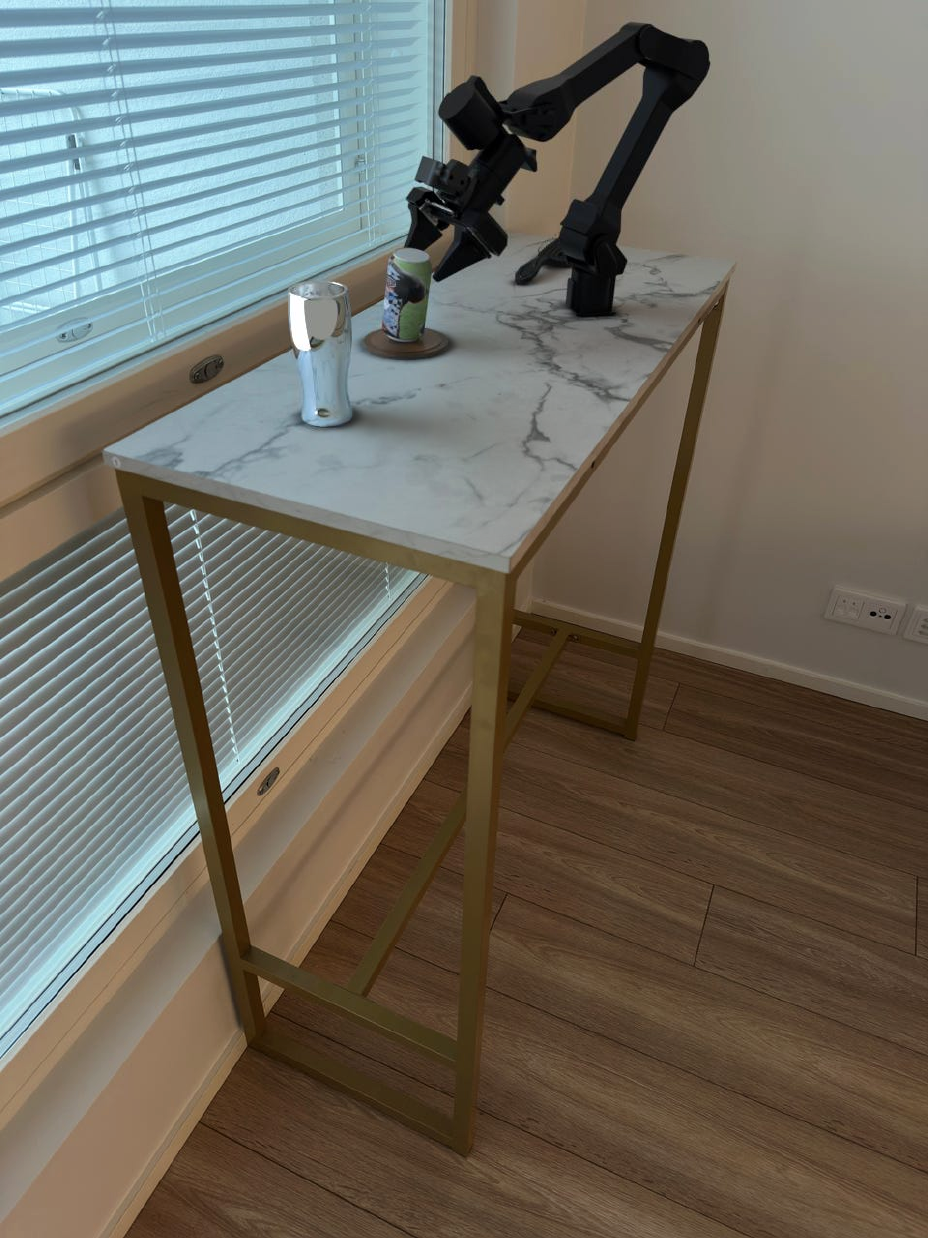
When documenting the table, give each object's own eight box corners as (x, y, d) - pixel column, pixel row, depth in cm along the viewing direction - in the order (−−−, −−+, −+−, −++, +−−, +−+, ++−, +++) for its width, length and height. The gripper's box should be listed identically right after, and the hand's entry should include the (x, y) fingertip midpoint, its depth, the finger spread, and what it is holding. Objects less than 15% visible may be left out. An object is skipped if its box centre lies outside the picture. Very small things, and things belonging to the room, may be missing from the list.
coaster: (439, 328, 135) (440, 323, 134) (455, 357, 125) (455, 352, 125) (359, 331, 133) (359, 327, 132) (368, 361, 123) (368, 356, 123)
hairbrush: (497, 263, 153) (556, 224, 170) (496, 285, 155) (555, 245, 172) (542, 271, 150) (598, 231, 167) (541, 293, 152) (596, 251, 169)
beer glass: (365, 409, 110) (359, 283, 102) (341, 432, 105) (332, 301, 96) (314, 401, 112) (304, 276, 103) (287, 423, 107) (274, 294, 98)
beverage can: (392, 328, 132) (390, 241, 125) (439, 335, 130) (439, 247, 123) (374, 342, 127) (370, 253, 120) (422, 349, 125) (422, 259, 118)
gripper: (416, 120, 123) (348, 216, 125) (491, 142, 110) (413, 249, 112) (465, 178, 131) (400, 268, 133) (540, 205, 118) (466, 303, 120)
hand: (418, 271), depth 124 cm, fingers open, 9 cm apart
